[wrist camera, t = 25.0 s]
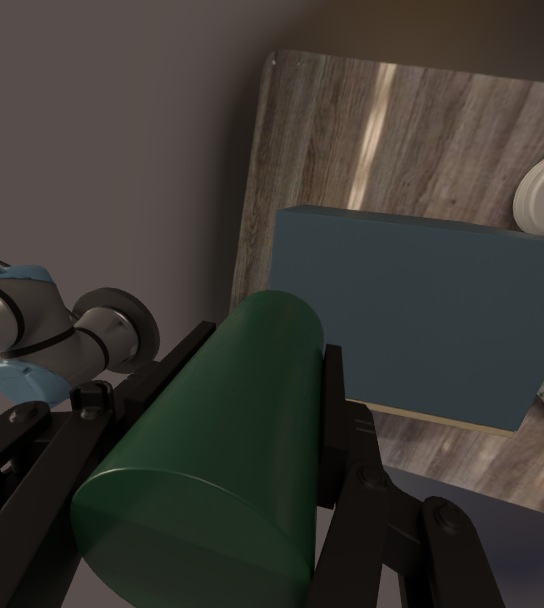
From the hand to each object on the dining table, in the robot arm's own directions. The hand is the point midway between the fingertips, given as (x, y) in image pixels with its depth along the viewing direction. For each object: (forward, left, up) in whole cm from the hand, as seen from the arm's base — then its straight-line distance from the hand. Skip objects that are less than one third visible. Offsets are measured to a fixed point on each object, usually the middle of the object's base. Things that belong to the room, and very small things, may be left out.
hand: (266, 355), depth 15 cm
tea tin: (0, 0, -2) cm, 2 cm away
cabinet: (+10, -2, -40) cm, 41 cm away
